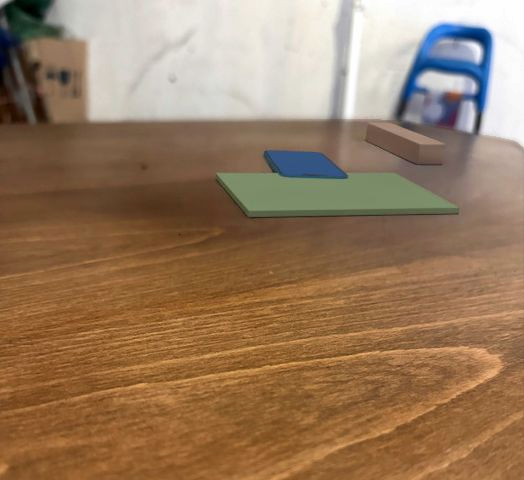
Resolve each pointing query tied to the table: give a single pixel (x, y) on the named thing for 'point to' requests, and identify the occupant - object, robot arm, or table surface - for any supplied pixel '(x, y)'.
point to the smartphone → (303, 165)
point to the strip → (405, 143)
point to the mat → (331, 195)
